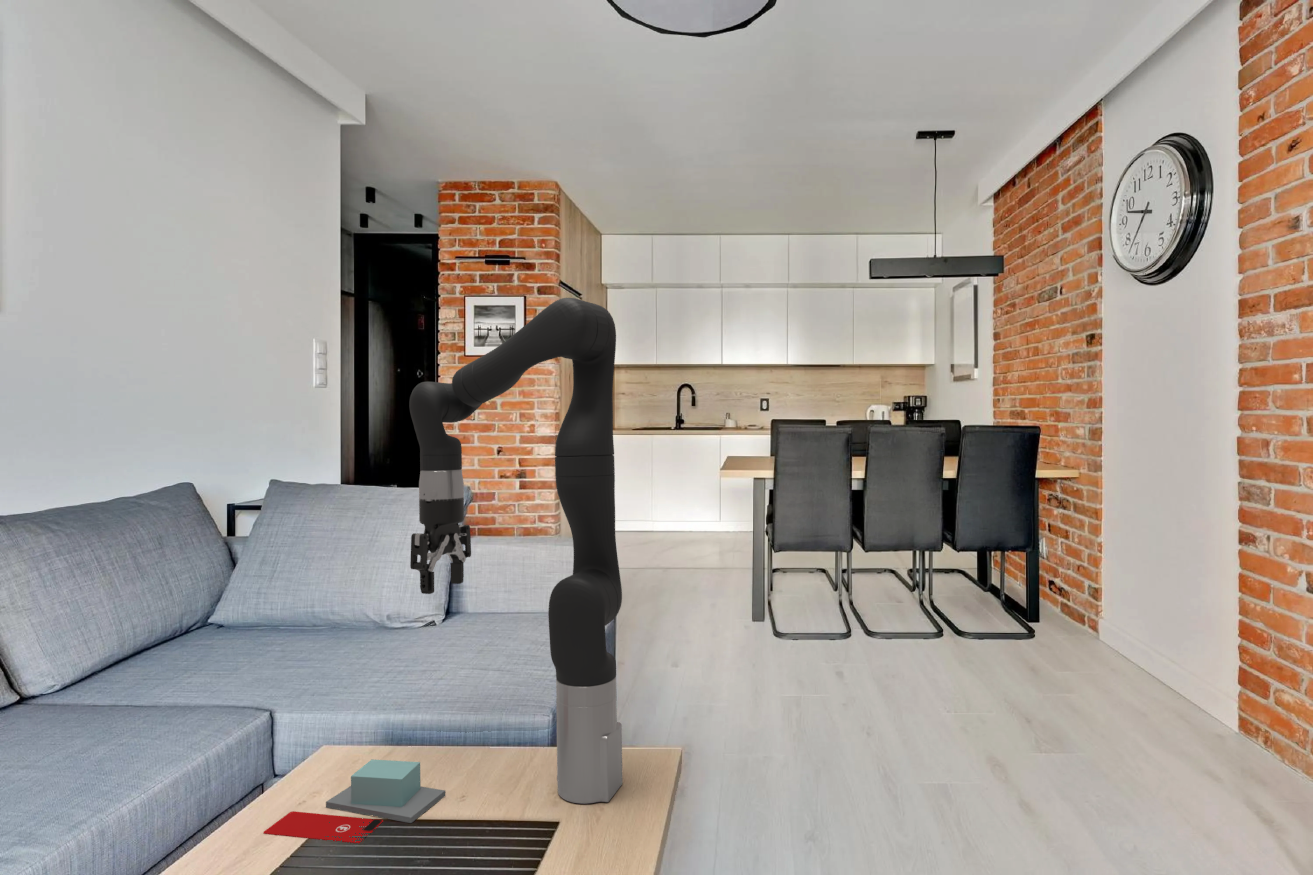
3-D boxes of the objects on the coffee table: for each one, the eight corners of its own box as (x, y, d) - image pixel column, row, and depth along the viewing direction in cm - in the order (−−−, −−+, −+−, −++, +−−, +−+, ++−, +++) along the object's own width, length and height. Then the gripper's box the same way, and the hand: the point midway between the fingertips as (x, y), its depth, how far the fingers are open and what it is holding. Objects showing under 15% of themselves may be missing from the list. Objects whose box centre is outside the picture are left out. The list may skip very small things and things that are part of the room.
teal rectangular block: (371, 785, 108) (371, 759, 108) (420, 788, 107) (420, 761, 107) (351, 803, 102) (350, 775, 102) (402, 806, 101) (401, 779, 101)
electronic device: (261, 836, 96) (359, 846, 93) (261, 832, 96) (359, 842, 93) (291, 814, 102) (384, 823, 99) (291, 810, 102) (384, 819, 99)
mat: (445, 795, 106) (445, 790, 106) (411, 822, 98) (411, 817, 98) (364, 781, 111) (364, 776, 111) (325, 807, 103) (325, 801, 103)
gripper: (447, 492, 131) (448, 579, 130) (396, 498, 117) (397, 595, 117) (482, 493, 128) (483, 581, 128) (434, 499, 115) (436, 598, 115)
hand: (442, 588), depth 123 cm, fingers open, 8 cm apart
